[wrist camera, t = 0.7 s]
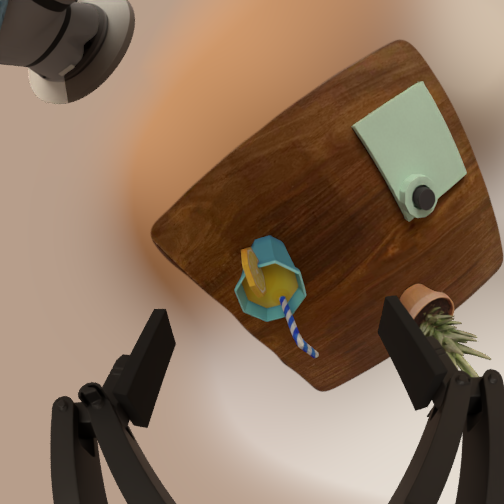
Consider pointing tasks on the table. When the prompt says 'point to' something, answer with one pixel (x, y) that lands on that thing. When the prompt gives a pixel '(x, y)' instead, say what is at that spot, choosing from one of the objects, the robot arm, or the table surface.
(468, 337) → the potted plant
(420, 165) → the scale
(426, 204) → the tare button
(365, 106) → the table surface
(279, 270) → the cup
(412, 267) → the table surface
